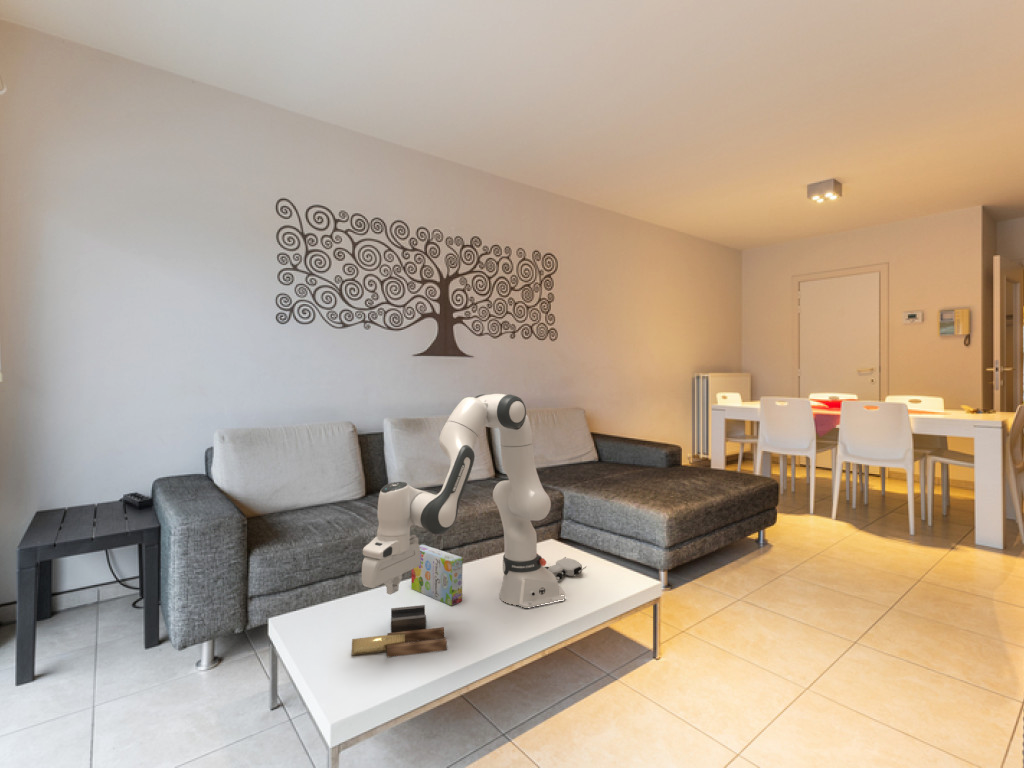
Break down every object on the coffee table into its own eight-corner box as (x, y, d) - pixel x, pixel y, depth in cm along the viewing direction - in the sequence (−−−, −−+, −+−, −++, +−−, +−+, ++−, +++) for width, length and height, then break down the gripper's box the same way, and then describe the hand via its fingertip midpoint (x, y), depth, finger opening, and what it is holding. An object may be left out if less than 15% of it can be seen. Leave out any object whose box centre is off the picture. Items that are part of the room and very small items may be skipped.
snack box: (463, 601, 170) (463, 556, 170) (451, 607, 166) (451, 561, 166) (422, 584, 184) (422, 543, 184) (410, 589, 180) (410, 547, 180)
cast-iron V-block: (424, 621, 156) (424, 605, 156) (426, 634, 149) (426, 617, 149) (391, 624, 154) (391, 608, 154) (391, 637, 146) (391, 620, 146)
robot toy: (557, 588, 183) (588, 575, 192) (557, 576, 183) (587, 564, 192) (537, 576, 194) (567, 565, 202) (536, 565, 193) (566, 554, 202)
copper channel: (443, 635, 148) (443, 627, 148) (446, 650, 140) (446, 641, 140) (387, 641, 144) (387, 633, 144) (387, 657, 136) (387, 648, 136)
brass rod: (404, 644, 144) (404, 630, 143) (404, 651, 140) (404, 637, 140) (352, 650, 140) (352, 636, 140) (351, 658, 136) (351, 643, 136)
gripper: (409, 531, 150) (408, 577, 150) (357, 550, 132) (357, 603, 132) (426, 534, 147) (425, 581, 147) (376, 555, 129) (375, 609, 129)
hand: (392, 592), depth 140 cm, fingers closed
